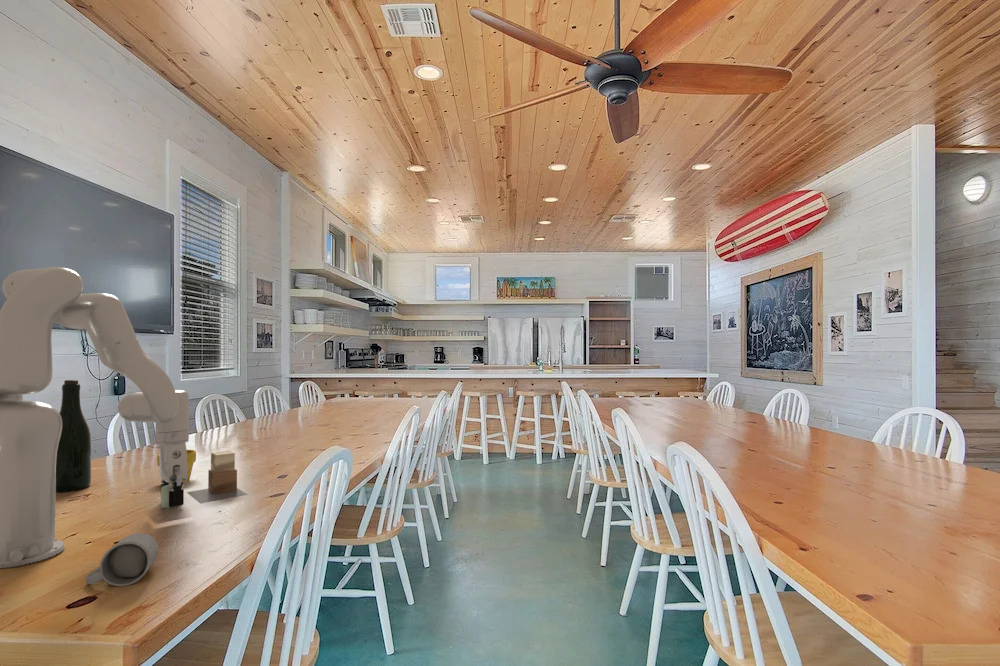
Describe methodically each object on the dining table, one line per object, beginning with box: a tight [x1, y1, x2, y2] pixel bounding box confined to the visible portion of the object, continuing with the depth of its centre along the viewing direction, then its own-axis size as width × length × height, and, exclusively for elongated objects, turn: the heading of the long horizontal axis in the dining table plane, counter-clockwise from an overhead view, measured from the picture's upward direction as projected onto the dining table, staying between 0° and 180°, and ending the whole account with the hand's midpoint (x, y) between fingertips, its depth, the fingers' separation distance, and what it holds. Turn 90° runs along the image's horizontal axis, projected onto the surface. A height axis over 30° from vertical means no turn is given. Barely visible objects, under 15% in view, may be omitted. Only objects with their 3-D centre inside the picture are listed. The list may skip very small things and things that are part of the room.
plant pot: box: [156, 449, 197, 483], centre depth 165 cm, size 10×10×10 cm
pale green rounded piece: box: [160, 485, 178, 509], centre depth 139 cm, size 5×5×6 cm
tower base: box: [207, 468, 238, 495], centre depth 153 cm, size 6×6×6 cm
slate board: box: [186, 487, 248, 504], centre depth 150 cm, size 15×12×1 cm
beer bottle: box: [56, 379, 92, 493], centre depth 161 cm, size 10×10×33 cm
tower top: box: [210, 449, 236, 473], centre depth 153 cm, size 5×5×5 cm
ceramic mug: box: [84, 532, 159, 587], centre depth 97 cm, size 11×8×8 cm
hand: (172, 501), depth 139 cm, fingers open, 9 cm apart
